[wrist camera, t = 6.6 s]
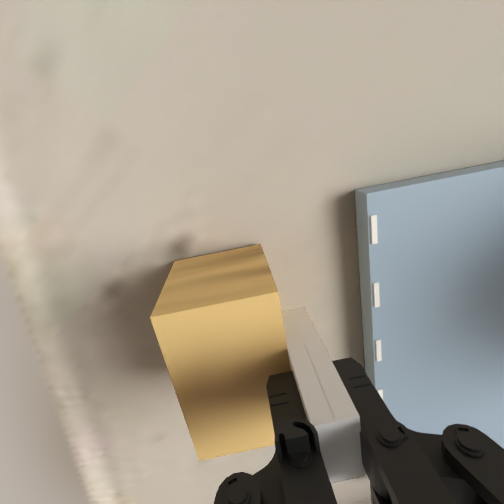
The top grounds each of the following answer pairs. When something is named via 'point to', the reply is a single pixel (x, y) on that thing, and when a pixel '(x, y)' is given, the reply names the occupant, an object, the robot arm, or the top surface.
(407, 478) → the robot arm
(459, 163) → the top surface
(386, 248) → the board
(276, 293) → the tan rectangular block
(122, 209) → the top surface
